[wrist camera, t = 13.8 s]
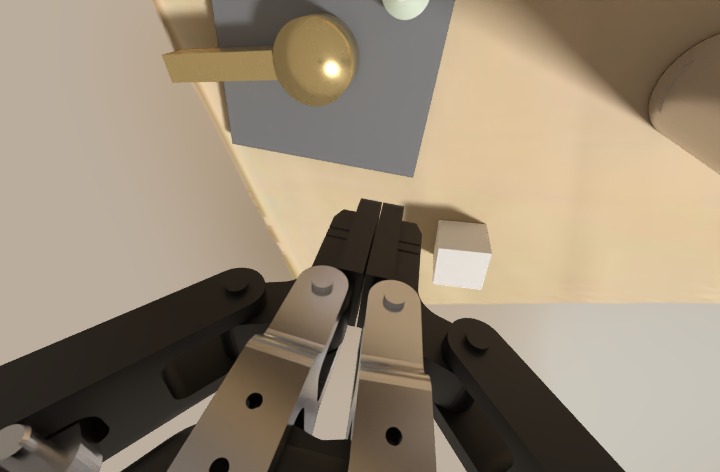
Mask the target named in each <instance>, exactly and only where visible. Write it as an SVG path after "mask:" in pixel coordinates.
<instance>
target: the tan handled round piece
mask: <svg viewBox="0 0 720 472" xmlns="http://www.w3.org/2000/svg"><path fill="white" fill-rule="evenodd" d="M162 56H163V59H164V62H165V65H166V67H167V70H168V72H169V75H170V78H171V80H172V82H173V83H174V82H220V81H265V80H279V82H280V84H281V85H282V87H283V88H284V90H285V91H286V92H287V93H288V94H289V95H290V96H291V97H292V98H294V99H295V100H297V101H298V102H300V103H302V104H305V105H308V106H315V107H318V106H325V105H328V104H330V103H332V102H334V101H335V100H337V99H338V98H339V97H340V96H341V95H342V93H343V92H344V91H345V90H346V89H347V88H348V86H349V85H350V84H351V83H352V81H353V80H354V78H355V76H356V74H357V71H358V67H359V49H358V44H357V42H356V39H355V37H354V35H353V33H352V31H351V30H350V28H349V27H348V26H347V25H346V24H345V23H344V22H343V21H342V20H340V19H339V18H337V17H335V16H334V15H331V14H327V13H314V14H310V15H306V16H303V17H299V18H296V19H293V20H291V21H290V22H288V23H287V24H286V25H285V26H284V27H283V28H282V29H281V30H280V32H279V33H278V35H277V37H276V40H275V42H274V46H252V47H229V48H206V49H183V50H178V51H174V52H171V53H167V54H163V55H162Z"/></svg>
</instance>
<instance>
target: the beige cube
mask: <svg viewBox="0 0 720 472" xmlns="http://www.w3.org/2000/svg"><path fill="white" fill-rule="evenodd" d="M491 256H492V251H491V246H490V241H489V236H488V230H487V225H486V224H479V223H468V222H457V221H446V220H439V222H438V228H437V235H436V241H435V247H434V253H433V284H438V285H446V286H454V287H462V288H470V289H478V290H481V289H482V285H483V282H484V279H485V275H486V272H487V269H488V265H489V262H490V259H491Z"/></svg>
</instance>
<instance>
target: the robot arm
mask: <svg viewBox="0 0 720 472" xmlns="http://www.w3.org/2000/svg"><path fill="white" fill-rule="evenodd" d="M649 117H650V121H651V123H652V125H653V126H654V128H655V129H656V130H657V131H659V132H660V133H661V134H662V135H664V136H665V137H667V138H668V139H670V140H671V141H673V142H674V143H675V144H677V145H678V146H680V147H681V148H682V149H684V150H685V151H687V152H688V153H689V154H691V155H692V156H694V157H695V158H697V159H698V160H700V161H701V162H702V163H704V164H705V165H707V166H708V167H710V168H711V169H712V170H714V171H715V172H717V173H718V174H720V34H718V35H716V36H713V37H711V38H708V39H706V40H704V41H703V42H701V43H699V44H697V45H696V46H694V47H692V48H691V49H689V50H688V51H687V52H685V53H684V54H683V55H682V56H680V57H679V58H678V59H677V60H676V61H675V62H674V63H673V64H672V65H671V66H670V67H669V68H668V69H667V70H666V71H665V72H664V74H663V75H662V76H661V78H660V79H659V80H658V82H657V84H656V86H655V88H654V90H653V92H652V95H651V98H650V101H649ZM381 205H382V202H378V201H373V200H368V199H363V198H361V200H360V203H359V206H358V209H357V211H356V212H354V211H349V210H342V211H341V212H340V213H338V214H337V215H336V216H334V218H333V220H332V223H331V225H330V228H329V229H328V232H327V234H326V236H325V238H324V241H323V243H322V245H321V247H320V250H319V252H318V254H317V256H316V259H315V261H314V263H313V265H312V267H310V268H308V269H306V270H305V271H303V272H302V273H301V274H300V275H299V277H298V278H297V279H295V280H292V281H286V282H269V283H265V281H264V278H263V277H262V275H261V274H260V273H258V272H257V271H255V270H253V269H249V268H234V269H230V270H227V271H224V272H222V273H220V274H217V275H215V276H212V277H210V278H208V279H205V280H203V281H200V282H198V283H196V284H193V285H191V286H189V287H186V288H184V289H182V290H179V291H177V292H174V293H172V294H170V295H167V296H165V297H163V298H160V299H158V300H155V301H153V302H151V303H148V304H146V305H144V306H142V307H139V308H136V309H134V310H132V311H129V312H127V313H125V314H122V315H120V316H117V317H115V318H113V319H111V320H108V321H106V322H103V323H101V324H99V325H96V326H94V327H92V328H89V329H87V330H84V331H82V332H80V333H77V334H75V335H72V336H70V337H68V338H65V339H63V340H61V341H58V342H56V343H53V344H51V345H49V346H46V347H44V348H42V349H39V350H37V351H34V352H32V353H30V354H28V355H25V356H23V357H20V358H18V359H16V360H13V361H11V362H8V363H6V364H4V365H1V366H0V472H99V470H100V468H101V464H102V462H104V461H105V460H107V459H108V458H110V457H111V456H113V455H115V454H117V453H118V452H120V451H121V450H123V449H125V448H126V447H128V446H129V445H131V444H132V443H134V442H136V441H137V440H139V439H141V438H142V437H144V436H145V435H147V434H149V433H150V432H152V431H153V430H155V429H157V428H158V427H160V426H162V425H163V424H165V423H166V422H168V421H170V420H171V419H173V418H174V417H176V416H177V415H179V414H181V413H182V412H184V411H186V410H187V409H189V408H190V407H192V406H194V405H195V404H197V403H199V402H200V401H202V400H203V399H205V398H207V397H208V396H210V395H211V394H213V393H215V392H216V391H217V392H216V393H215V395H214V397H213V398H212V400H211V401H210V403H209V405H208V406H207V408H206V409H205V411H204V413H203V415H202V416H201V418H200V419H199V421H198V422H197V424H195V425H193V426H190V427H188V428H186V429H184V430H183V431H181V432H179V433H177V434H175V435H173V436H172V437H170V438H169V439H167V440H166V441H164V442H163V443H162V444H160V445H159V446H157V447H156V448H154V449H153V450H151V451H150V452H149V453H147V454H146V455H144V456H143V457H141V458H140V459H138V460H137V461H135V462H134V463H133V464H131V465H130V466H128V467H127V468H125V469H124V470H122V471H121V472H436V456H435V437H434V421H433V418H434V420H435V421H436V423H437V424H438V426H439V428H440V429H441V431H442V432H443V434H444V435H445V437H446V439H447V441H448V442H449V444H450V445H451V447H452V449H453V450H454V452H455V453H456V455H457V457H458V458H459V460H460V461H461V463H462V464H463V466H464V468H465V469H466V471H467V472H625V471H624V470H623V469H622V468H621V467H620V466H619V465H618V463H617V462H616V461H615V460H614V459H613V458H612V457H611V456H610V455H609V453H608V452H607V451H606V450H605V449H604V448H603V447H602V446H601V445H600V444H599V443H598V441H597V440H596V439H595V438H594V437H593V436H592V435H591V434H590V433H589V432H588V431H587V430H586V428H585V427H584V426H583V425H582V424H581V423H580V422H579V421H578V420H577V419H576V418H575V417H574V415H573V414H572V413H571V412H570V411H569V410H568V409H567V408H566V407H565V406H564V405H563V404H562V402H561V401H560V400H559V399H558V398H557V397H556V396H555V395H554V394H553V393H552V392H551V390H549V388H548V387H547V386H546V385H545V384H544V383H543V382H542V381H541V379H540V378H539V377H538V376H537V375H536V374H535V373H534V372H533V371H532V370H531V369H530V368H529V367H528V365H527V364H526V363H525V362H524V361H523V360H522V359H521V358H520V357H519V356H518V354H517V353H516V352H515V351H514V350H513V349H512V348H511V347H510V346H509V345H508V344H507V343H506V342H505V341H504V339H503V338H502V337H501V336H500V335H499V334H498V333H497V332H496V331H495V330H494V329H493V328H491V326H489V325H487V324H486V323H484V322H482V321H479V320H476V319H472V318H462V319H458V320H456V321H454V322H453V323H451V322H449V321H447V320H445V319H443V318H441V317H439V316H437V315H435V314H434V313H432V312H431V311H430V310H429V309H428V308H427V307H426V306H425V305H424V304H423V302H422V301H421V299H420V297H419V293H418V282H419V267H420V253H421V238H422V234H421V232H420V230H419V228H418V226H417V224H415V223H410V222H405V221H402V217H403V210H404V206H399V205H394V204H388V203H383V206H382V210H381ZM380 211H381V214H380ZM379 216H380V218H379ZM360 302H361V304H360ZM359 306H360V310H359ZM358 310H359V317H358V323H357V327H360V328H362V331H361V337H360V343H359V348H358V353H357V361H356V368H355V376H354V384H353V390H352V398H351V405H350V413H349V420H348V426H347V432H346V439H344V440H320V439H318V438H315V437H314V436H312V433H313V429H314V426H315V422H316V417H317V414H318V410H319V407H320V404H321V401H322V398H323V395H324V392H325V390H326V387H327V384H328V381H329V379H330V376H331V373H332V370H333V367H334V365H335V362H336V359H337V356H338V354H339V351H340V347H341V343H342V342H343V339H344V336H345V332H346V328H347V325H350V326H355V322H356V318H357V314H358Z"/></svg>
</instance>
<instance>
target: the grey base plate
mask: <svg viewBox="0 0 720 472" xmlns="http://www.w3.org/2000/svg"><path fill="white" fill-rule="evenodd" d="M454 2H455V0H212V6H213V13H214V20H215V27H216V34H217V40H218V47H219V48H229V47H252V46H274V42H275V40H276V37H277V35H278V33H279V32H280V30H281V29H282V28H283V27H284V26H285V25H286V24H287V23H288V22H290V21H291V20H293V19H296V18H299V17H303V16H306V15H310V14H314V13H327V14H331V15H334V16H335V17H337V18H339V19H340V20H342V21H343V22H344V23H345V24H346V25H347V26H348V27H349V28H350V30H351V31H352V33H353V35H354V37H355V39H356V42H357V44H358V49H359V67H358V71H357V74H356V76H355V78H354V80H353V81H352V83H351V84H350V85H349V86H348V88H347V89H346V90H345V91H344V92H343V93H342V95H341V96H340V97H339V98H338V99H337V100H335V101H334V102H332V103H330V104H328V105H325V106H318V107H315V106H308V105H305V104H302V103H300V102H298V101H297V100H295V99H294V98H292V97H291V96H290V95H289V94H288V93H287V92H286V91H285V90H284V88H283V87H282V85H281V84H280V82H279V80H265V81H223V82H224V88H225V95H226V102H227V109H228V116H229V123H230V130H231V136H232V143H233V144H237V145H242V146H247V147H253V148H258V149H263V150H269V151H274V152H279V153H285V154H290V155H295V156H300V157H306V158H311V159H316V160H322V161H327V162H332V163H338V164H343V165H348V166H354V167H359V168H364V169H370V170H375V171H380V172H385V173H391V174H396V175H401V176H407V177H412V178H413V176H414V171H415V167H416V163H417V159H418V154H419V150H420V146H421V142H422V138H423V133H424V129H425V125H426V121H427V116H428V112H429V108H430V104H431V100H432V95H433V91H434V87H435V83H436V78H437V74H438V70H439V66H440V61H441V57H442V53H443V49H444V45H445V40H446V36H447V32H448V28H449V23H450V19H451V15H452V11H453V7H454Z"/></svg>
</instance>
